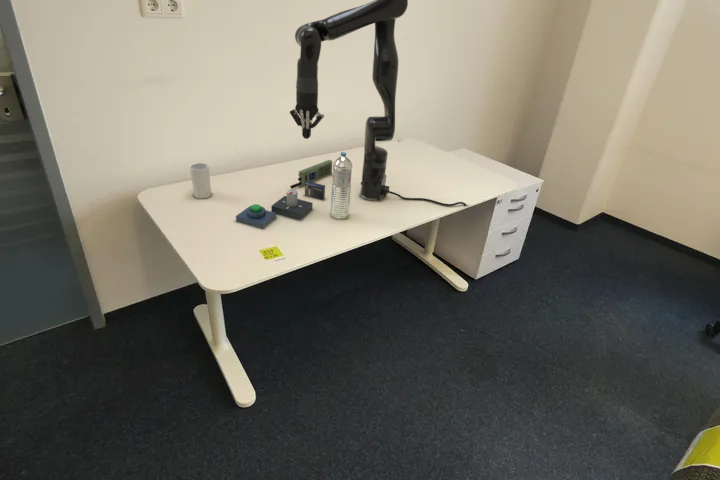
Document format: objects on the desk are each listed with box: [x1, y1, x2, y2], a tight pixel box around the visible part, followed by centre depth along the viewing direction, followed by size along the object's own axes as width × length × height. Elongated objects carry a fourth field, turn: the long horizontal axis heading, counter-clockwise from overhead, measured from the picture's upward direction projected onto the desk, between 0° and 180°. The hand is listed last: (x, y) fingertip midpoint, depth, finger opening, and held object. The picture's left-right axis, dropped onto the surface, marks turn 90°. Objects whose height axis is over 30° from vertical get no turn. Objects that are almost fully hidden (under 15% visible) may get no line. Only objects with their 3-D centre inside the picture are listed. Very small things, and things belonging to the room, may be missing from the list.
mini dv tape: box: [304, 181, 326, 201], centre depth 172 cm, size 8×2×6 cm, turn 68°
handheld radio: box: [289, 159, 333, 190], centre depth 184 cm, size 7×3×25 cm
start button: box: [250, 203, 262, 213], centre depth 152 cm, size 4×4×2 cm
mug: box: [189, 162, 212, 199], centre depth 165 cm, size 10×7×12 cm, turn 46°
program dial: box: [286, 189, 299, 207], centre depth 159 cm, size 4×4×5 cm
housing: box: [235, 205, 277, 230], centre depth 153 cm, size 11×9×4 cm
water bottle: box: [330, 151, 353, 220], centre depth 156 cm, size 7×7×25 cm
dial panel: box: [270, 195, 313, 221], centre depth 161 cm, size 12×10×3 cm
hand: (306, 137), depth 158 cm, fingers closed
